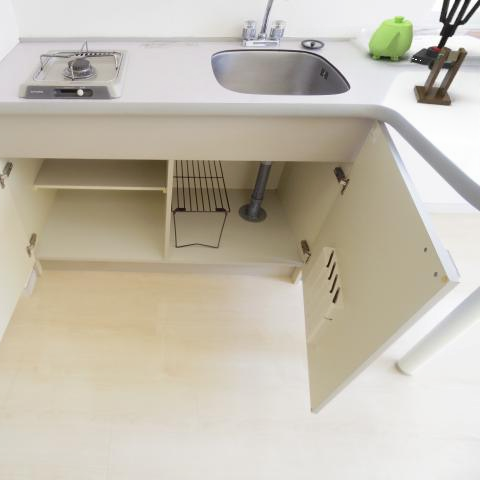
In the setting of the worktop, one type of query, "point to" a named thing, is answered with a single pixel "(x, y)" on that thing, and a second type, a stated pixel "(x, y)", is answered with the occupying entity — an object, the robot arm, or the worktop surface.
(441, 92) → the brown wooden stand
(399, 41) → the teapot
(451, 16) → the robot arm
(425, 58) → the button box
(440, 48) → the button
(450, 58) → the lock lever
